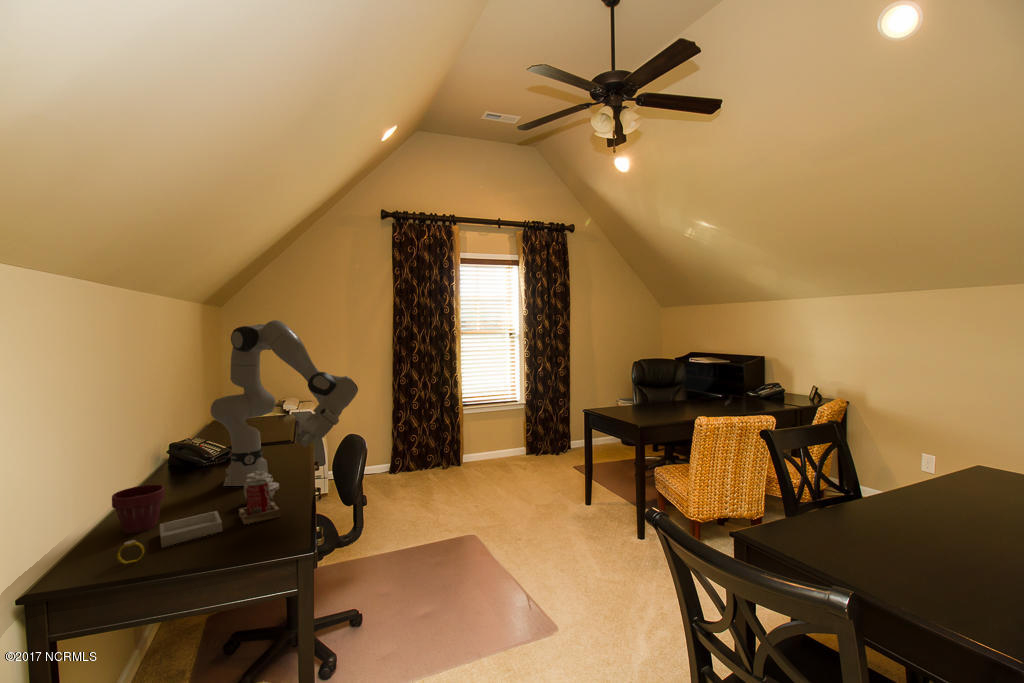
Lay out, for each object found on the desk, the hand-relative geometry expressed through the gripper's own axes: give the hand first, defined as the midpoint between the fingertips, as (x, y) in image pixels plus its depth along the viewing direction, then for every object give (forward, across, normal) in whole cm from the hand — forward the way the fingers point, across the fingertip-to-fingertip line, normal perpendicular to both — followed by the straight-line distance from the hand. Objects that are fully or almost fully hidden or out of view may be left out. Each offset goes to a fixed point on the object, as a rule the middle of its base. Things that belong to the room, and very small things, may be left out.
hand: (300, 444), depth 174 cm
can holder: (+27, 0, +6) cm, 27 cm away
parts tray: (+41, 0, -8) cm, 42 cm away
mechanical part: (+24, -17, +9) cm, 31 cm away
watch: (+52, +12, -19) cm, 56 cm away
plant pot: (+50, -18, -18) cm, 56 cm away
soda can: (+27, 0, +6) cm, 27 cm away
